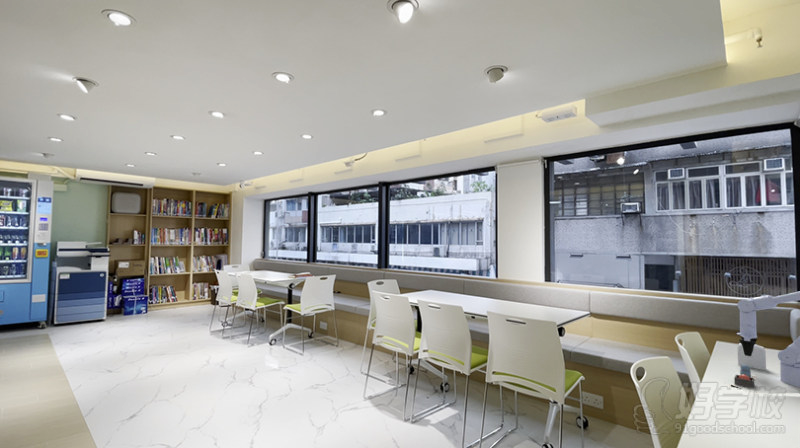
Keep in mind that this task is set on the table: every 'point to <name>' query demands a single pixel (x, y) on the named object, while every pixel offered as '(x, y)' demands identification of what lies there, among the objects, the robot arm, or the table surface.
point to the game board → (744, 381)
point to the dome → (744, 377)
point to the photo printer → (753, 357)
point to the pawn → (745, 370)
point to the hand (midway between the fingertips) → (748, 354)
